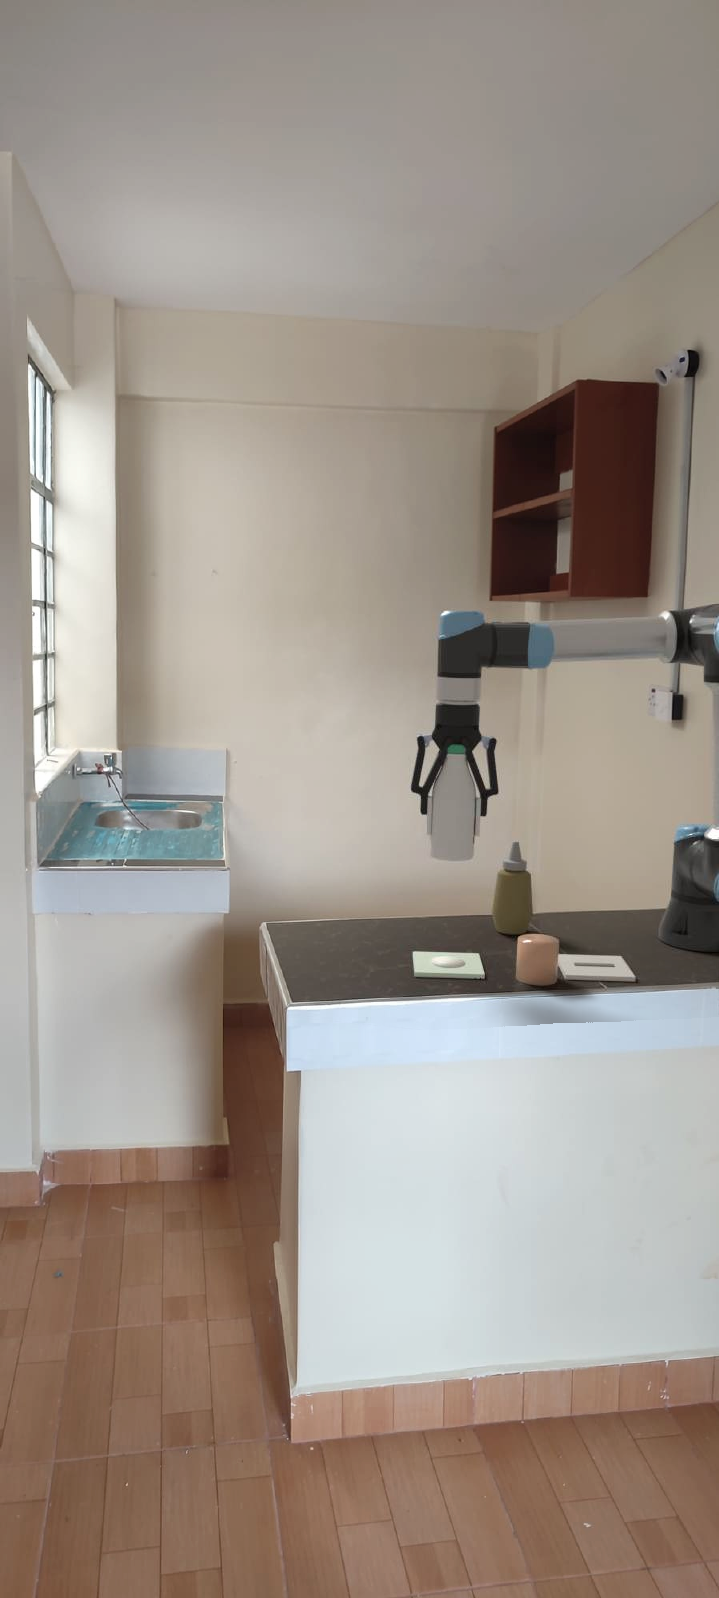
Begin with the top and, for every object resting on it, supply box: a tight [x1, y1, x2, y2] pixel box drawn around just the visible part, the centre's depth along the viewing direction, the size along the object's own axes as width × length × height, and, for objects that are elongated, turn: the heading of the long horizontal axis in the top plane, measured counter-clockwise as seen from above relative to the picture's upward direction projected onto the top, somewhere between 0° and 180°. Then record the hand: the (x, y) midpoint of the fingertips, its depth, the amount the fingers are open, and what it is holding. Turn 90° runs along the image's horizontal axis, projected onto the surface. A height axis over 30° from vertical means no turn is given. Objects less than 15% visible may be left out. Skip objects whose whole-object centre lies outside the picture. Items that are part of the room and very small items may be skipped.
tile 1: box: [412, 950, 486, 980], centre depth 201 cm, size 12×12×1 cm
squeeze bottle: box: [491, 841, 534, 936], centre depth 223 cm, size 8×8×18 cm
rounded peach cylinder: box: [515, 933, 560, 986], centre depth 195 cm, size 7×7×7 cm
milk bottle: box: [429, 744, 477, 862], centre depth 196 cm, size 8×8×20 cm
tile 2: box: [558, 953, 636, 982], centre depth 201 cm, size 12×12×1 cm
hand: (452, 833), depth 197 cm, fingers closed on milk bottle, 8 cm apart
